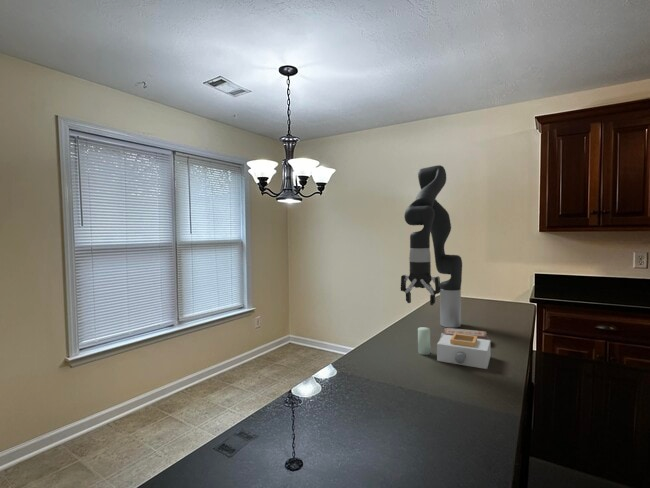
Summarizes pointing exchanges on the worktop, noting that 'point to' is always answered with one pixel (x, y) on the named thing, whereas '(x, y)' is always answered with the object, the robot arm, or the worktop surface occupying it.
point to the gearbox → (464, 350)
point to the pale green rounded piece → (424, 341)
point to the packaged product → (465, 333)
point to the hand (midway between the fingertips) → (420, 303)
